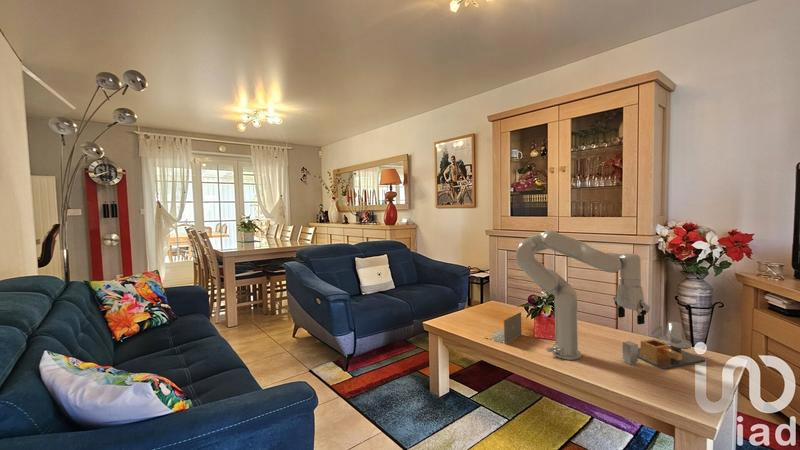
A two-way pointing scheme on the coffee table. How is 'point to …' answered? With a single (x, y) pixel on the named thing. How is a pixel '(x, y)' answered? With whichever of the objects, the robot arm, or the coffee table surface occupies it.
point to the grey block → (630, 352)
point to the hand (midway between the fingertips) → (630, 320)
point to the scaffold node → (668, 350)
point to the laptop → (509, 329)
